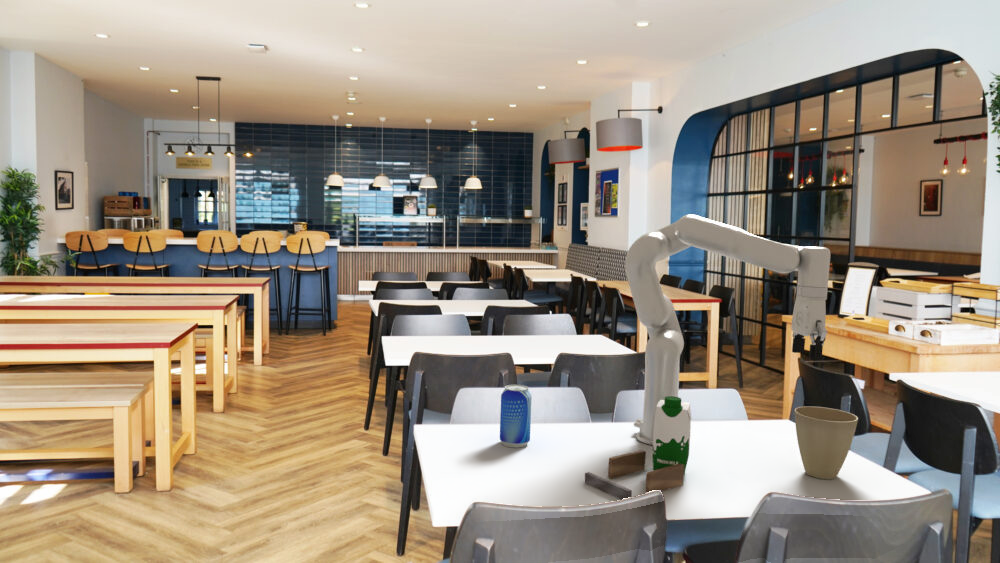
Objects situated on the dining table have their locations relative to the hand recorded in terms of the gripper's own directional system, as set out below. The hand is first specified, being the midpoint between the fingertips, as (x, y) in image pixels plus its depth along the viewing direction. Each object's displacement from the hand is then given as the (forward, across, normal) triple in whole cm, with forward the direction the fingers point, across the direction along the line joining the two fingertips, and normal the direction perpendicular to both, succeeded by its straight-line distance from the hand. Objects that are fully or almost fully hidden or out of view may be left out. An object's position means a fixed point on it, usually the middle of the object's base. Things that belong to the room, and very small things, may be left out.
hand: (806, 356), depth 205 cm
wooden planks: (+29, +20, -50) cm, 62 cm away
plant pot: (+28, +13, 0) cm, 31 cm away
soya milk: (+29, +14, -40) cm, 51 cm away
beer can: (+29, -10, -76) cm, 83 cm away
